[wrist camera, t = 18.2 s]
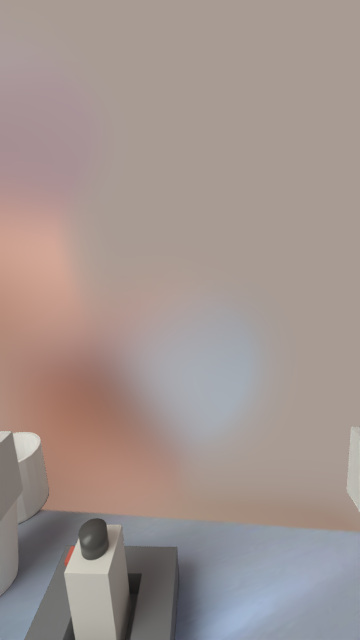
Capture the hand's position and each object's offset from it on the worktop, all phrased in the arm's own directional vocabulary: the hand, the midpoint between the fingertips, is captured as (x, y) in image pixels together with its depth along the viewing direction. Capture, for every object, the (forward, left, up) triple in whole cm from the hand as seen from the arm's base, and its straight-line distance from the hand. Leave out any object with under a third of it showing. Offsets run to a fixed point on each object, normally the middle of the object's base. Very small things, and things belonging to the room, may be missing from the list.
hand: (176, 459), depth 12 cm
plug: (+8, -15, -30) cm, 35 cm away
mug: (+27, -37, -32) cm, 56 cm away
